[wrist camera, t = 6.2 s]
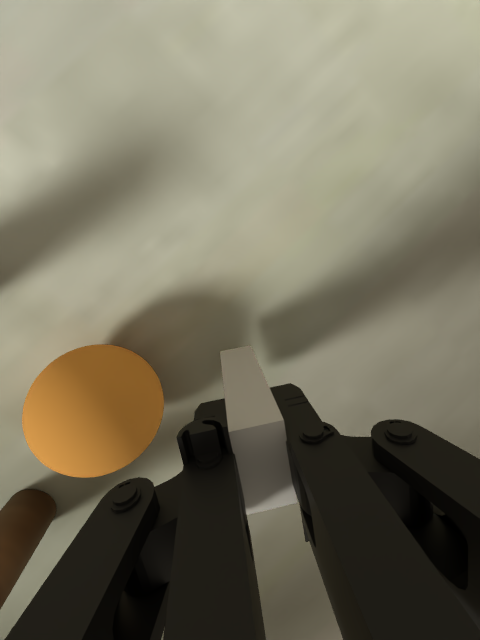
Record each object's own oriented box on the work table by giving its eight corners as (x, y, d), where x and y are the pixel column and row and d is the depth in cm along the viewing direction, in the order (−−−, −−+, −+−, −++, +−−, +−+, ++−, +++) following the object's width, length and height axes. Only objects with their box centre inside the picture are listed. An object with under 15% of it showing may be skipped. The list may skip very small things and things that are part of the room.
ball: (28, 537, 10) (56, 449, 15) (184, 475, 12) (163, 415, 17) (-24, 391, 9) (25, 347, 14) (159, 348, 11) (144, 323, 16)
